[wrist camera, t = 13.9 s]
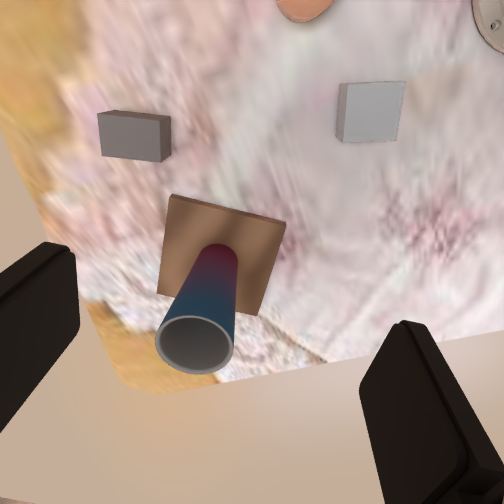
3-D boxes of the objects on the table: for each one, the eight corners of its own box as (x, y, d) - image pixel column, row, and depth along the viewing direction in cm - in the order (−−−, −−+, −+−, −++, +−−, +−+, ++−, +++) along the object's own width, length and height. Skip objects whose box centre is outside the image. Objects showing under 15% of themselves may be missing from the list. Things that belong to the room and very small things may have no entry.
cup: (248, 280, 43) (239, 371, 29) (198, 286, 43) (167, 377, 30) (239, 233, 39) (224, 311, 26) (185, 240, 40) (144, 319, 27)
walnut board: (285, 222, 40) (286, 226, 39) (257, 310, 46) (256, 316, 45) (172, 193, 39) (169, 197, 38) (159, 288, 45) (156, 293, 44)
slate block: (390, 81, 32) (405, 81, 29) (383, 134, 35) (396, 140, 31) (339, 83, 33) (348, 84, 29) (335, 136, 35) (342, 142, 32)
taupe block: (170, 116, 35) (159, 120, 31) (171, 154, 37) (160, 162, 33) (114, 109, 35) (97, 113, 31) (118, 148, 37) (102, 155, 33)
